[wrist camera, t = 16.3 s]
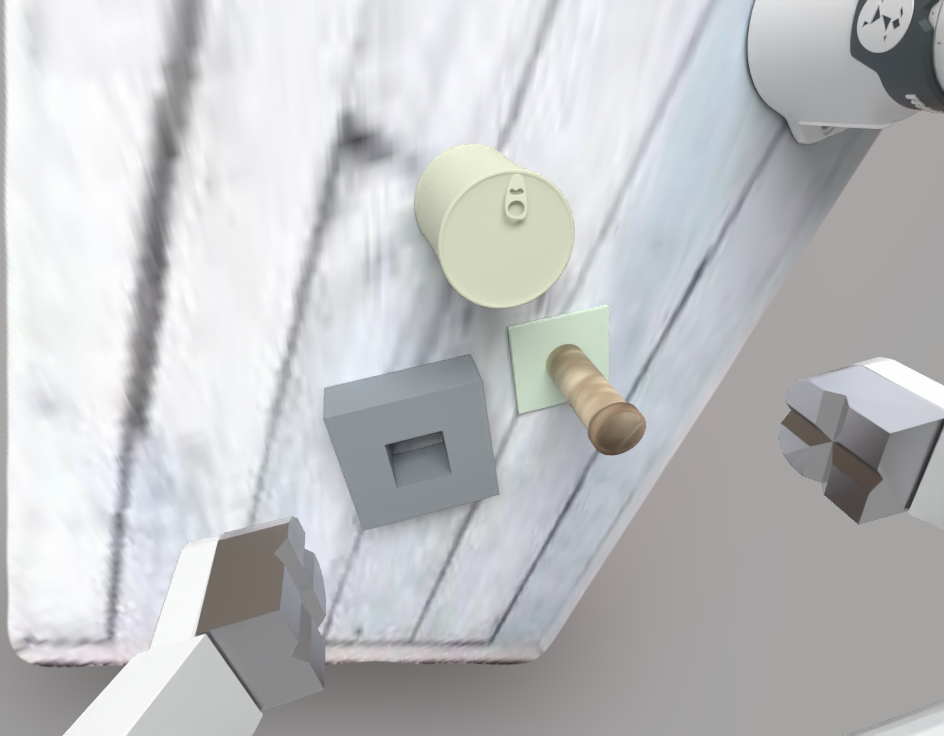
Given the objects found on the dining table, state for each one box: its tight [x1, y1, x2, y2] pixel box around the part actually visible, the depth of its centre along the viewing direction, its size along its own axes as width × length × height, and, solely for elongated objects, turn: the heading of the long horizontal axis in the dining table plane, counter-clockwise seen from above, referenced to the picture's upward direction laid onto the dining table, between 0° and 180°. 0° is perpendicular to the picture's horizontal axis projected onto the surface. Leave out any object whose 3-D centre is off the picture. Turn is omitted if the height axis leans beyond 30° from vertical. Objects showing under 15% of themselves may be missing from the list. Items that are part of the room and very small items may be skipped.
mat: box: [508, 304, 609, 414], centre depth 53 cm, size 10×10×1 cm
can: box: [415, 144, 574, 309], centre depth 38 cm, size 9×9×12 cm
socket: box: [323, 354, 499, 531], centre depth 51 cm, size 14×14×5 cm
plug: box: [546, 344, 646, 455], centre depth 47 cm, size 5×5×12 cm
